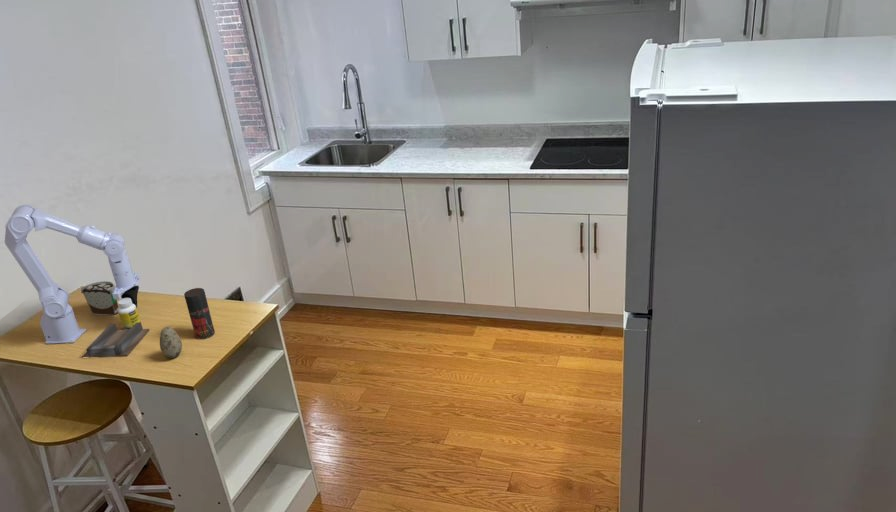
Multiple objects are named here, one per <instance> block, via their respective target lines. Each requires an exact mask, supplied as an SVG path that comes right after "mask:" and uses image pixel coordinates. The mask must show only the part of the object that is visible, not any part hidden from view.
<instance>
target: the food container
mask: <svg viewBox="0 0 896 512" xmlns="http://www.w3.org/2000/svg"><path fill="white" fill-rule="evenodd" d="M115 287H116V284H115V283H113V282H111V281H107V280H106V281H105V280H104V281H96V282H92V283H90V284H87V285H84V286H82V287H81V289H80V291H81V294H83V296H84V299H85V301H86V304H87V305H88V308H89V311H90V312H91V314H92V315H98V314H102V315H101V316H103V315H104V314H105V315H104V316H115V315H116V316H117V315H119V313H118V308H119V305H118V299H114V298H113V295H112V294H113V293H114V290H115Z"/></svg>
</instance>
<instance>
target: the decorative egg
mask: <svg viewBox="0 0 896 512" xmlns="http://www.w3.org/2000/svg"><path fill="white" fill-rule="evenodd" d="M159 347H160V350H161V353H162V355H164V356H165V357H167V358H176V357H178V356H179V355H180V354H181V352H182V350H183V343H182V340H181V338H180V335H178V333H177V332H176V331H175V329H173V327H170V326H165V327H164V328H162V329H161V332H160V336H159Z"/></svg>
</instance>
